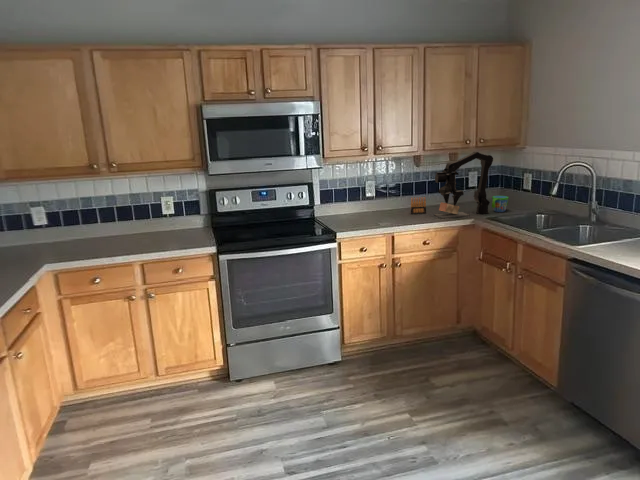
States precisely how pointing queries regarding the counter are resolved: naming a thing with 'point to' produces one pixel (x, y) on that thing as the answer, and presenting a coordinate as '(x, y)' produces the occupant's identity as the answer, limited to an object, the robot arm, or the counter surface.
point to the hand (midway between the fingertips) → (450, 204)
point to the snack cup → (499, 203)
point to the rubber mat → (451, 215)
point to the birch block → (449, 208)
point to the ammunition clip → (418, 206)
